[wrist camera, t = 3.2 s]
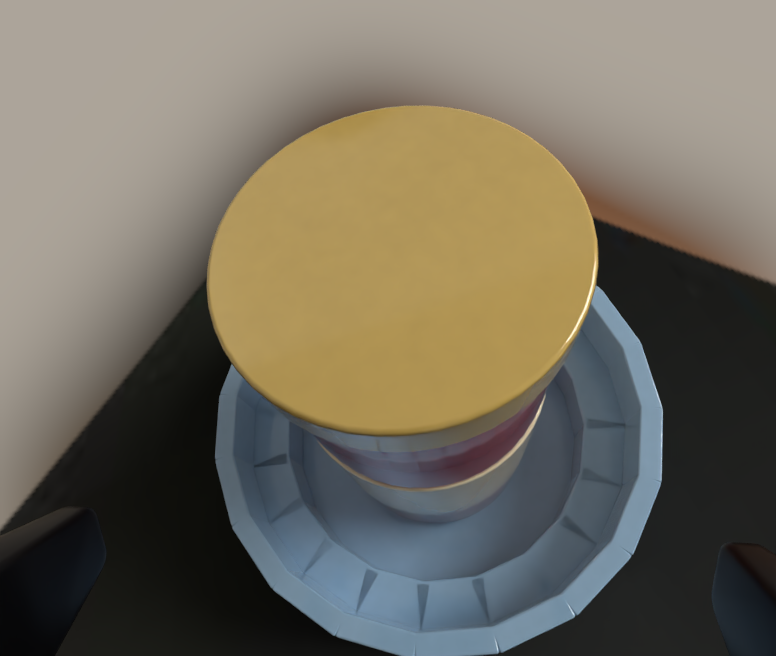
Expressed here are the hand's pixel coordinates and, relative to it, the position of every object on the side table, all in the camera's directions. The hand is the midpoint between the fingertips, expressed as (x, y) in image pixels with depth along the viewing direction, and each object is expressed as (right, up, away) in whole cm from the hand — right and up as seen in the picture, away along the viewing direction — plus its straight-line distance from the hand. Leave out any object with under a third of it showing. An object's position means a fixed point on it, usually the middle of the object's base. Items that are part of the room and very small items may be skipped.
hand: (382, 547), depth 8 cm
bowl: (+2, -1, +12) cm, 12 cm away
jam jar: (+2, -1, +11) cm, 12 cm away
